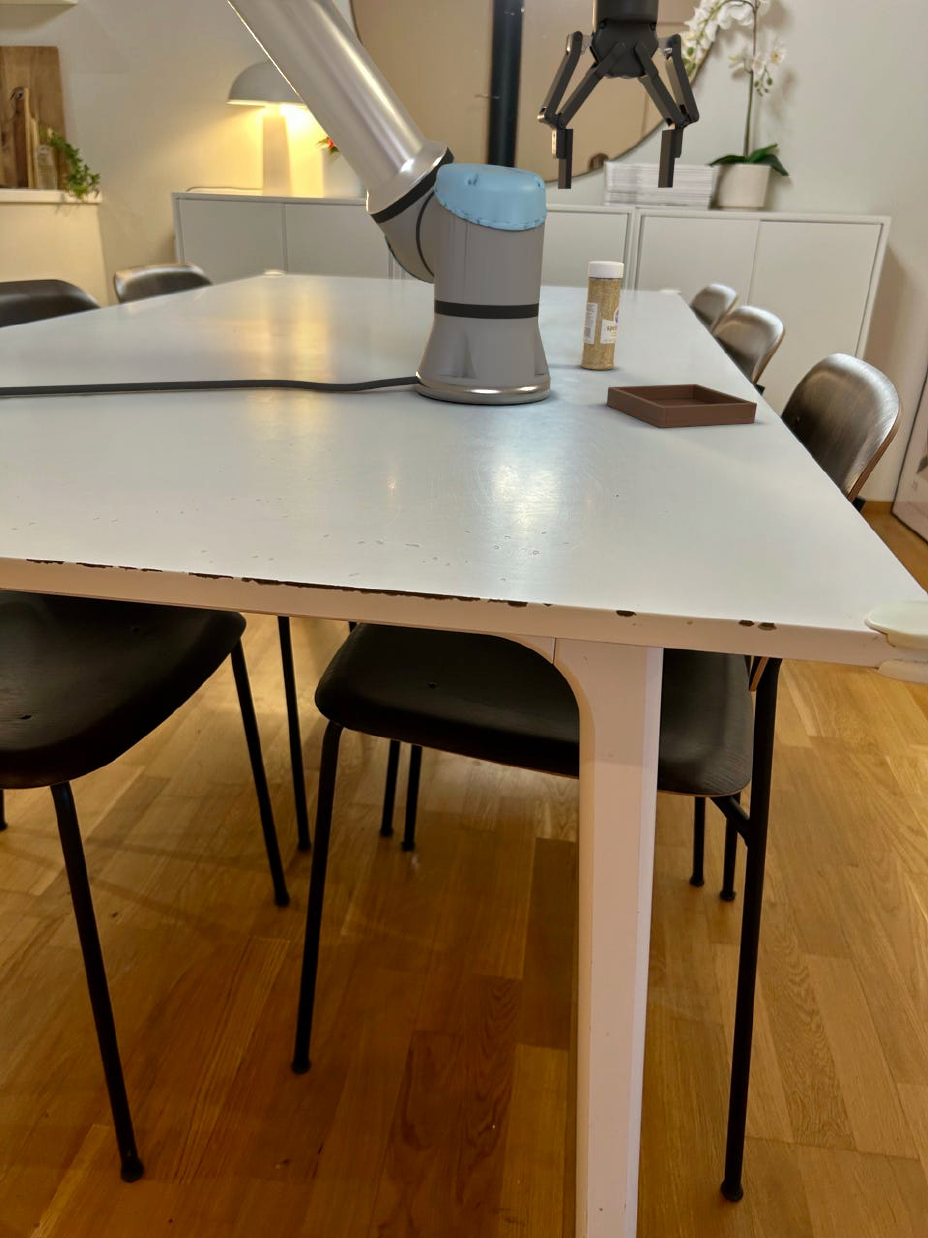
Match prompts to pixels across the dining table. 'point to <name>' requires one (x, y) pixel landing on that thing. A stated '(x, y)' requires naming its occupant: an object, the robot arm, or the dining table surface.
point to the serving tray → (681, 405)
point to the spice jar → (601, 314)
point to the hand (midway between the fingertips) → (615, 188)
